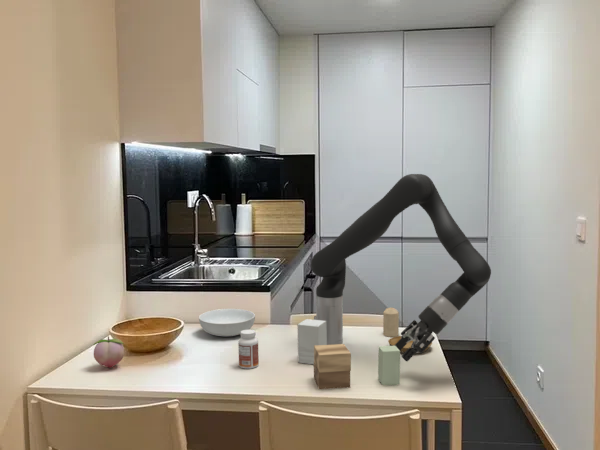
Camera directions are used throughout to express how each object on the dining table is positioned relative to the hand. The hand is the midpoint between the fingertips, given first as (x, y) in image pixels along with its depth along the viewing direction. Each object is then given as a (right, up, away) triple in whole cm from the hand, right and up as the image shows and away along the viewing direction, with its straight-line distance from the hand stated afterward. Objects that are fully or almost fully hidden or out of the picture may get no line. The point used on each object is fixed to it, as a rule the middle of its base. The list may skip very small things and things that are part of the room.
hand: (399, 354), depth 176 cm
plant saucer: (+9, -5, +32) cm, 33 cm away
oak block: (-19, -3, 0) cm, 20 cm away
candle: (+5, -3, +47) cm, 48 cm away
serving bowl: (-56, -3, +51) cm, 76 cm away
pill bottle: (-45, -7, +15) cm, 48 cm away
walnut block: (-20, -8, 0) cm, 21 cm away
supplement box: (-25, -6, +20) cm, 32 cm away
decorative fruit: (-88, -7, +15) cm, 90 cm away
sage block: (-3, -8, 0) cm, 9 cm away
